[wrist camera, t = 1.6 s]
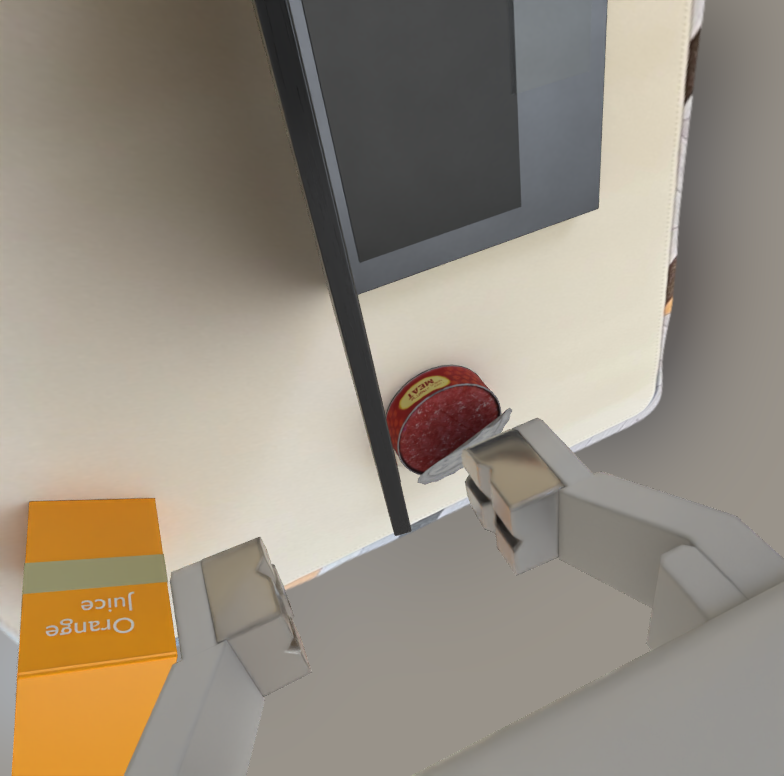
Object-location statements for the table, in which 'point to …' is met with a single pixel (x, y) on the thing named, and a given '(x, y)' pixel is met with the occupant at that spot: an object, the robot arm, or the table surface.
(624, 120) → the table surface
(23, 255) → the table surface
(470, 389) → the canned food
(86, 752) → the orange juice
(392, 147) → the laptop
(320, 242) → the laptop screen
